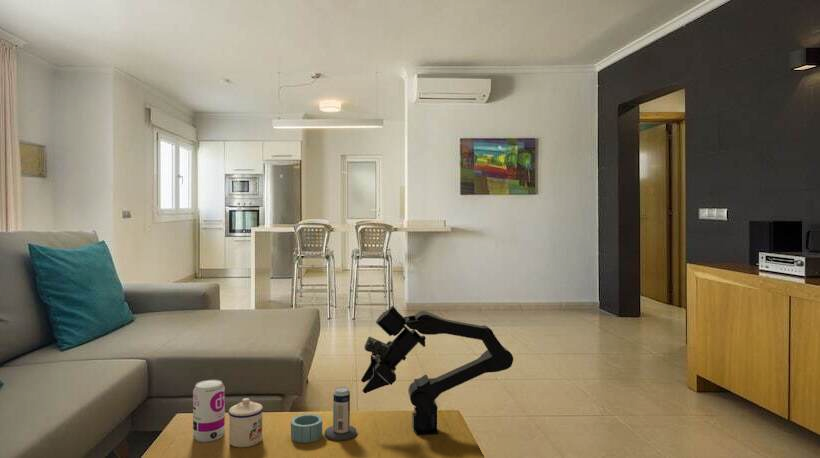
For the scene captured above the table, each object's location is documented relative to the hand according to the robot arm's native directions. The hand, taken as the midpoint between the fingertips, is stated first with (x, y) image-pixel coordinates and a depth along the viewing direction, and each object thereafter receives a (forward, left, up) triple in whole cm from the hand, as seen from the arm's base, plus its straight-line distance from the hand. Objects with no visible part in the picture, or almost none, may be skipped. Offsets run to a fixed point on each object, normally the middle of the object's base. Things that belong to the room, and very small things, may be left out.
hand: (362, 386), depth 146 cm
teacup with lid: (+32, -1, -14) cm, 35 cm away
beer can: (+6, 0, -13) cm, 14 cm away
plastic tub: (+16, 0, -13) cm, 21 cm away
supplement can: (+43, -4, -14) cm, 45 cm away
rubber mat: (+6, 0, -13) cm, 15 cm away
